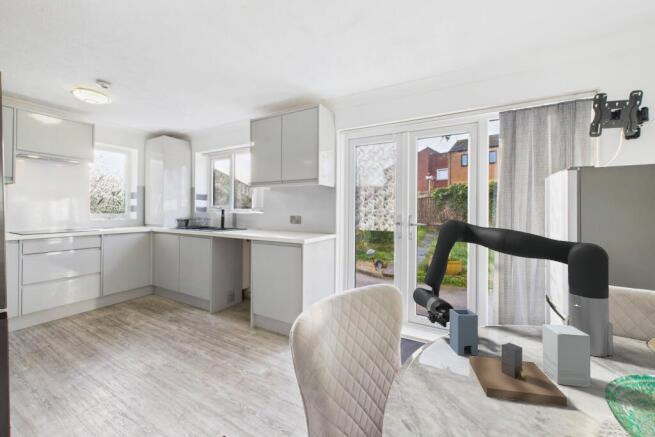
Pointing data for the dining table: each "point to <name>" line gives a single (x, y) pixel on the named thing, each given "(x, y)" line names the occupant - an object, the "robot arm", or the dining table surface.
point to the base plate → (516, 382)
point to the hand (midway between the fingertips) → (458, 324)
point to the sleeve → (463, 331)
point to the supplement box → (566, 355)
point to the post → (512, 361)
